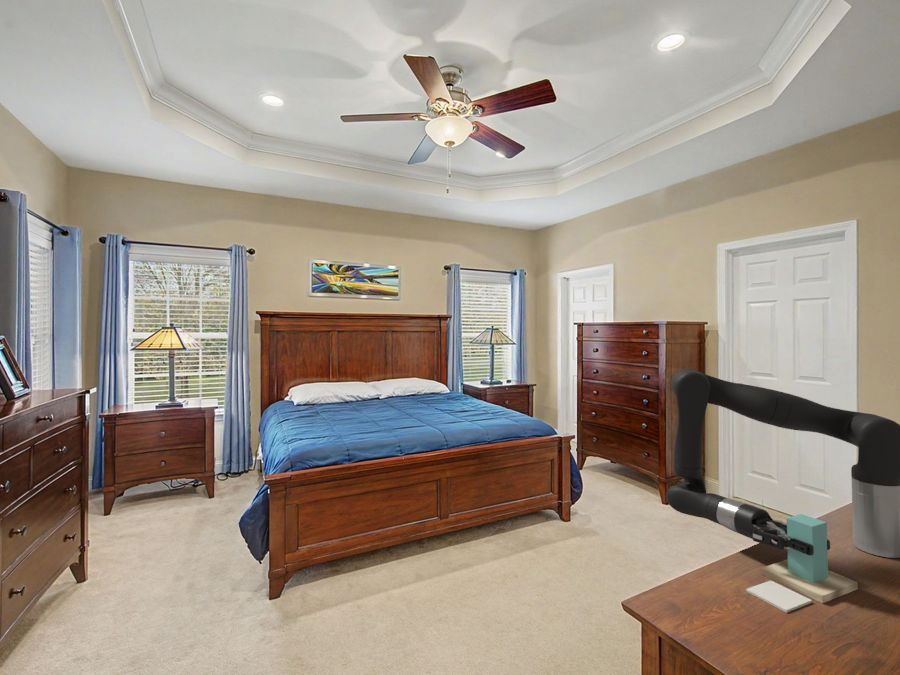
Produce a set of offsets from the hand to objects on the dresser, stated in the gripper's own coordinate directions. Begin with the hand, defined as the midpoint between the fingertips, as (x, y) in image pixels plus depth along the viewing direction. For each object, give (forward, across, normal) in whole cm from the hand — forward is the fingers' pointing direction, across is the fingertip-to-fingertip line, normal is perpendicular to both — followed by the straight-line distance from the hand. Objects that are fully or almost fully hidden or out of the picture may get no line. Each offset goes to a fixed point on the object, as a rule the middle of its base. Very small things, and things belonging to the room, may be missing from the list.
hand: (820, 548), depth 95 cm
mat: (-2, -12, +8) cm, 14 cm away
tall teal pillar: (-3, 0, +7) cm, 7 cm away
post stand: (-3, 0, +8) cm, 9 cm away
